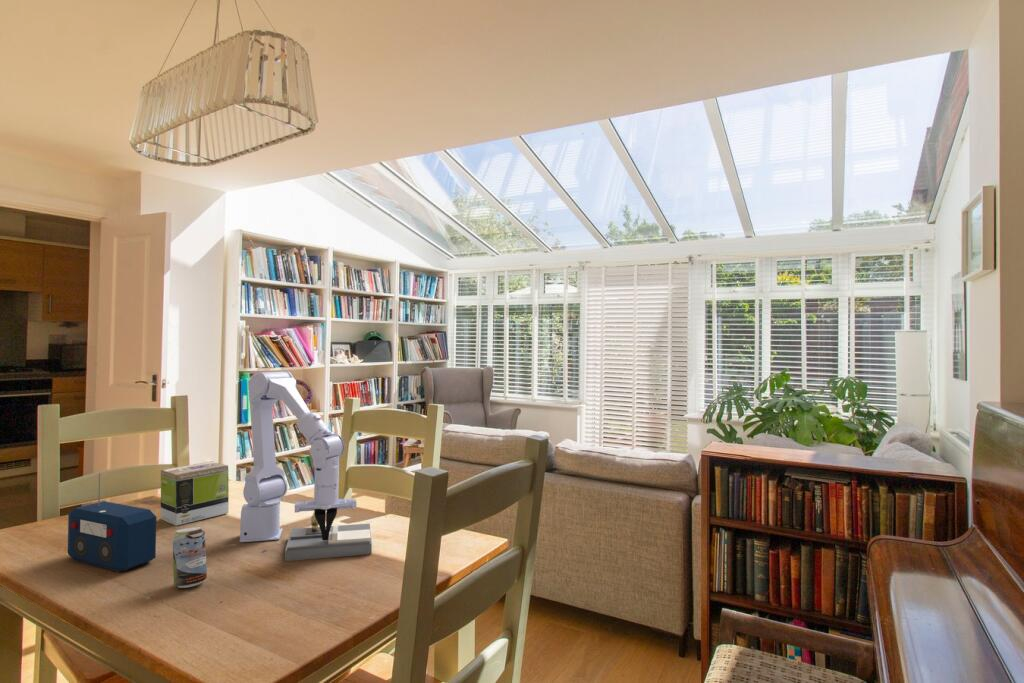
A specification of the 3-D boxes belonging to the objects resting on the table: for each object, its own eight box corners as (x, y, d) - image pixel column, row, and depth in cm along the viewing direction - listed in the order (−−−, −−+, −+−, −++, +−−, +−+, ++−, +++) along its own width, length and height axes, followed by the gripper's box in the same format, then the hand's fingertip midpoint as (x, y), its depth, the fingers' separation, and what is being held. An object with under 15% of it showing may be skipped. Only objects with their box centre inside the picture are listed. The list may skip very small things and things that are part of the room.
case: (284, 561, 133) (284, 548, 133) (291, 538, 148) (291, 526, 148) (371, 554, 138) (371, 541, 138) (369, 532, 154) (369, 521, 154)
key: (318, 531, 146) (318, 517, 146) (310, 531, 145) (310, 517, 145) (320, 523, 152) (321, 509, 152) (313, 523, 152) (313, 510, 152)
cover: (328, 544, 136) (328, 534, 136) (329, 536, 142) (329, 525, 142) (370, 541, 139) (370, 531, 139) (369, 533, 145) (370, 523, 145)
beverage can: (183, 594, 114) (184, 536, 114) (164, 585, 118) (165, 529, 118) (213, 583, 120) (214, 527, 120) (194, 575, 124) (195, 521, 124)
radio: (60, 560, 130) (62, 475, 130) (100, 548, 138) (102, 467, 139) (121, 576, 123) (123, 485, 123) (159, 562, 131) (161, 476, 131)
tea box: (212, 507, 173) (213, 460, 173) (229, 514, 167) (230, 464, 167) (159, 519, 161) (160, 468, 161) (175, 527, 155) (176, 473, 155)
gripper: (293, 489, 133) (292, 547, 133) (356, 486, 137) (355, 542, 137) (296, 482, 140) (295, 536, 140) (356, 479, 144) (355, 532, 144)
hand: (325, 538), depth 139 cm, fingers closed
